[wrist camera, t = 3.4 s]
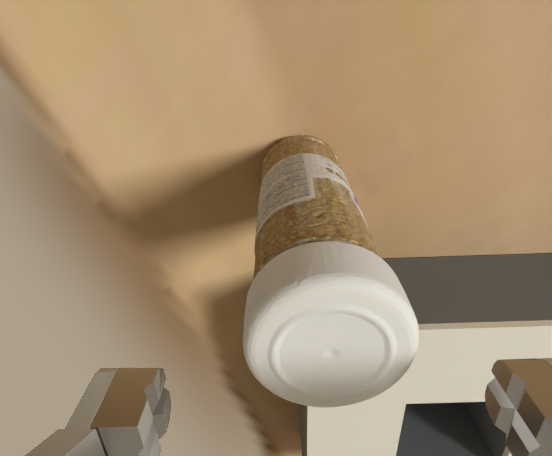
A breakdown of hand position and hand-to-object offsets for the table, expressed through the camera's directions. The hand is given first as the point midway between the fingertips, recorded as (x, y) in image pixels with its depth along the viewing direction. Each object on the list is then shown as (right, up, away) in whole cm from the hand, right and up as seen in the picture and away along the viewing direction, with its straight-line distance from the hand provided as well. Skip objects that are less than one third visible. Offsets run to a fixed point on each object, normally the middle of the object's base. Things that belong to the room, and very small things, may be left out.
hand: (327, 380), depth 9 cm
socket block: (+10, -6, +19) cm, 22 cm away
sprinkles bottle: (0, +7, +12) cm, 14 cm away
